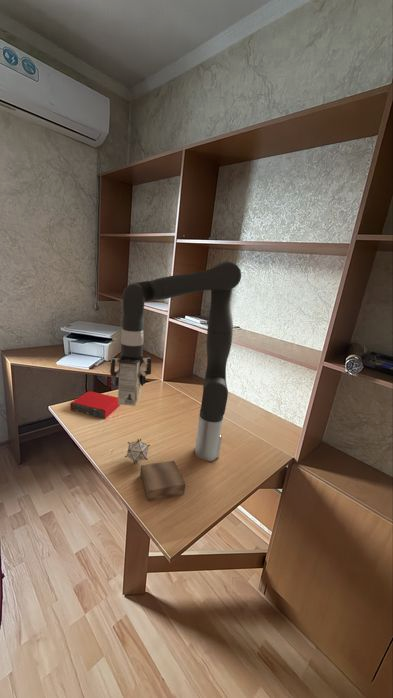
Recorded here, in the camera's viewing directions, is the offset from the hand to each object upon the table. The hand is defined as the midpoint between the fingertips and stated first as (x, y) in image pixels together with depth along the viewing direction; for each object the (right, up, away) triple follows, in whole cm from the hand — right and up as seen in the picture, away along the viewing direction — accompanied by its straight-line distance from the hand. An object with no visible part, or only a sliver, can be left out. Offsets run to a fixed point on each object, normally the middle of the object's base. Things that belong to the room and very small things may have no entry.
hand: (130, 385), depth 105 cm
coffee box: (-1, -6, +1) cm, 6 cm away
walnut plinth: (+12, -32, -8) cm, 35 cm away
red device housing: (-25, -16, +36) cm, 47 cm away
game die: (+2, -29, +2) cm, 29 cm away
